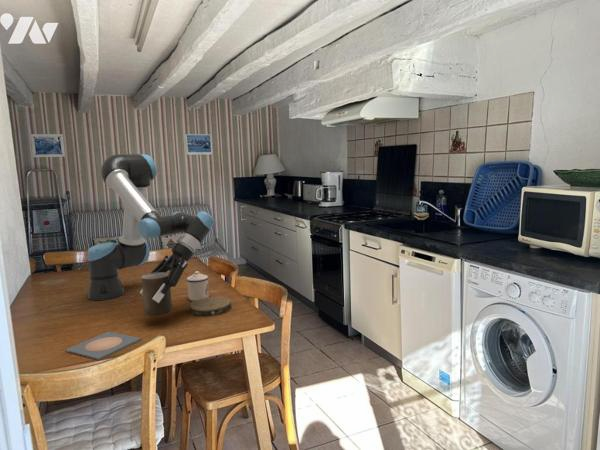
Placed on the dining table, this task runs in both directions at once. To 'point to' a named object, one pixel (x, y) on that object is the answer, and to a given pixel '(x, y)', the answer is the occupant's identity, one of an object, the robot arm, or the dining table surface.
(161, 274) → the pillar candle
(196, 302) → the wood log slice
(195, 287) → the teacup with lid
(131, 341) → the mat
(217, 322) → the dining table surface
